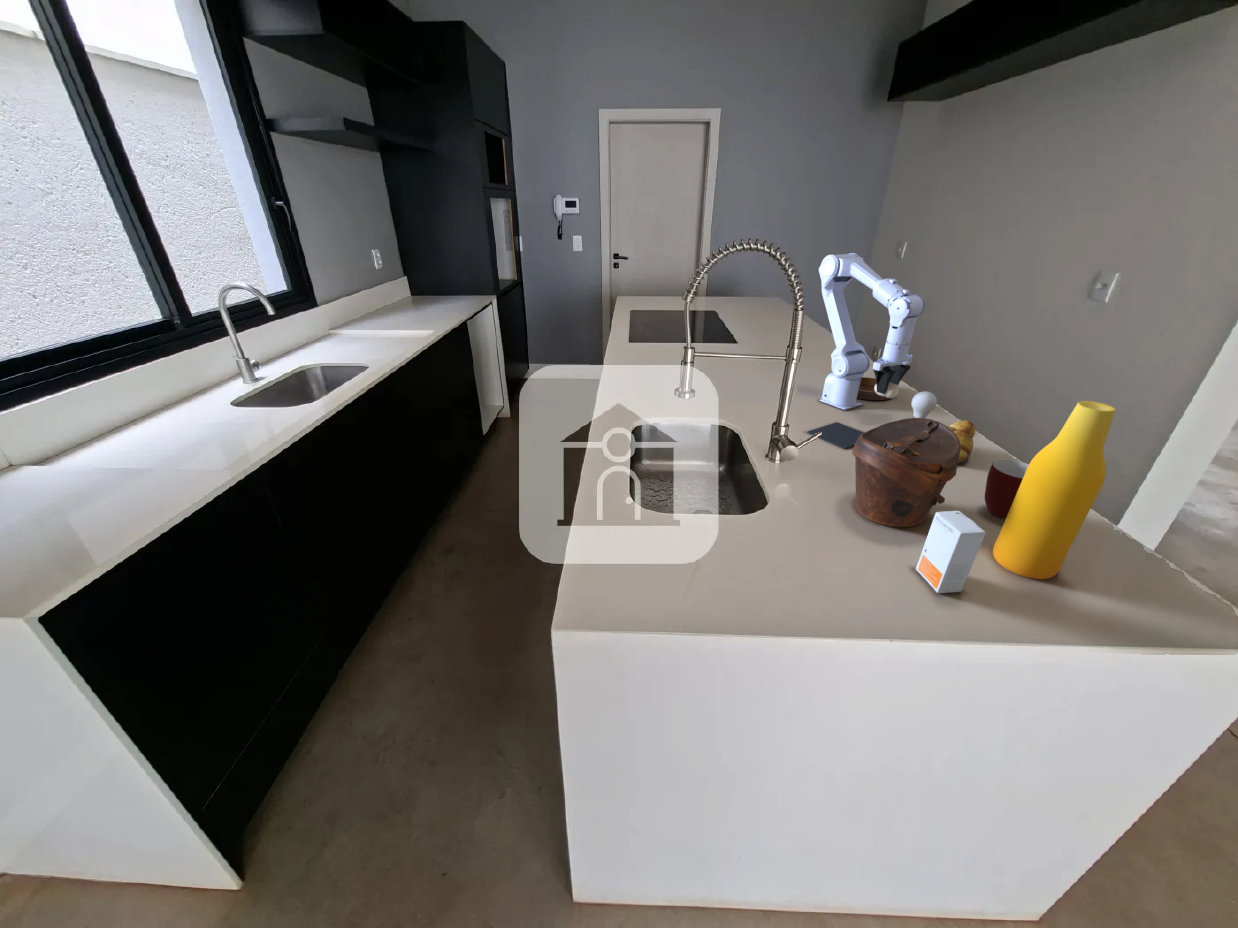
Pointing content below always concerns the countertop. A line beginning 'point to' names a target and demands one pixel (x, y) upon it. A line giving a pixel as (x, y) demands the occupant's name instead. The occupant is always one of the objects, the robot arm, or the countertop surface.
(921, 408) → the light bulb
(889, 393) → the white grooved oval
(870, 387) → the bowl
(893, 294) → the robot arm
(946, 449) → the case
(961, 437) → the bread roll
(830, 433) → the mat
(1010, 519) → the beer bottle
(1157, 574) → the countertop surface
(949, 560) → the cosmetic box
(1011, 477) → the mug
